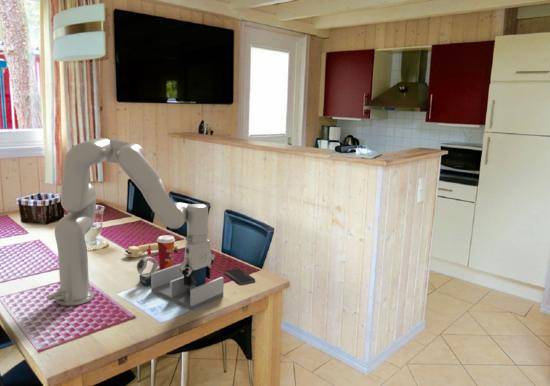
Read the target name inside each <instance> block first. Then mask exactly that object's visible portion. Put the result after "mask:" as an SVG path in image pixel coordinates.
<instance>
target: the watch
mask: <svg viewBox="0 0 550 386" xmlns="http://www.w3.org/2000/svg"><path fill="white" fill-rule="evenodd" d="M151 259H152V260H153V265H152V267H151V269H150V272H147V273H144V274H143V271H145V269H146V268H147V265H148V262H149V260H151ZM138 260H139V261H138V262H137V264H136V270H137V272H138V275H139V283H140V284H141V285H143V286H144V287H145V288H147V287H150V286H151V273H154V272H157V268H158V261H157V260H156V259H155V258H154V257H152V256H149V255H148V256H144V257H143V258H140V259H138Z"/></svg>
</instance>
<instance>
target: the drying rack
mask: <svg viewBox="0 0 550 386" xmlns="http://www.w3.org/2000/svg"><path fill="white" fill-rule="evenodd" d="M181 263H182V262H180V263H178V264H175V265H174V264H173V266H171V267H169V268H166V269H163V270H162V269H159V270H158V271H157V270H156V271H155V272H154V273H151V287H150V288H151V289H150V290H151V293H153V294H156V295H158V296H160V297H162V298H164V299H166V300H168V301H171V302H173V303H176V304H177V305H180V306H182V307H184V308H187V309H189V310H192V311H193V310H195V309H198V308H199V307H202V306H204V305H206V304H208V303H211V302H213V301H215V300H217V299H219V298H221V297H223V296H224V286H225V285H224V284H225V283H224V276H220V277H218V278H215V279H212V280H210V281H207V282H206V283H205V284H203V285H200V286H198V287H195V288H193V289H191V290H190V296H189V294H188V293H187V285H185V284H184V275H183V274H182V273H181V272H180V270H179V268H178V266H179V265H180V264H181ZM184 269H185V267H184Z"/></svg>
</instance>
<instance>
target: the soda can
mask: <svg viewBox="0 0 550 386" xmlns="http://www.w3.org/2000/svg"><path fill="white" fill-rule="evenodd" d="M188 270H189V269H188ZM188 270H187V272H188ZM190 276H191V286H187V293H188V294H189V296H190V290H191V289H193V288H195V287H198V286H200V285H203V284H205V283H207V281H206V280H207V278H206V267H203V268H200V269H198V270H195V271H193V270H192V272H191V274H190Z"/></svg>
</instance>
